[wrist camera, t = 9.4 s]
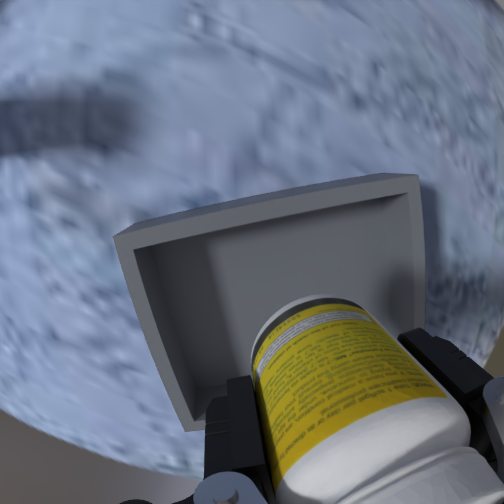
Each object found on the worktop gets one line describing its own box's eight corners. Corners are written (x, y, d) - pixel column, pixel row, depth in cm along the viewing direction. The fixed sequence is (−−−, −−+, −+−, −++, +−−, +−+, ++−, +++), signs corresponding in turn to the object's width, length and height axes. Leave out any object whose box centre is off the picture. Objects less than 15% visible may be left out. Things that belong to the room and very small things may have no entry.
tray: (134, 223, 18) (112, 236, 14) (382, 172, 18) (418, 174, 14) (189, 392, 21) (185, 431, 17) (394, 342, 21) (421, 370, 17)
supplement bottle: (221, 363, 11) (234, 601, 3) (313, 262, 10) (498, 453, 2) (314, 417, 12) (382, 593, 4) (397, 336, 11) (537, 484, 3)
